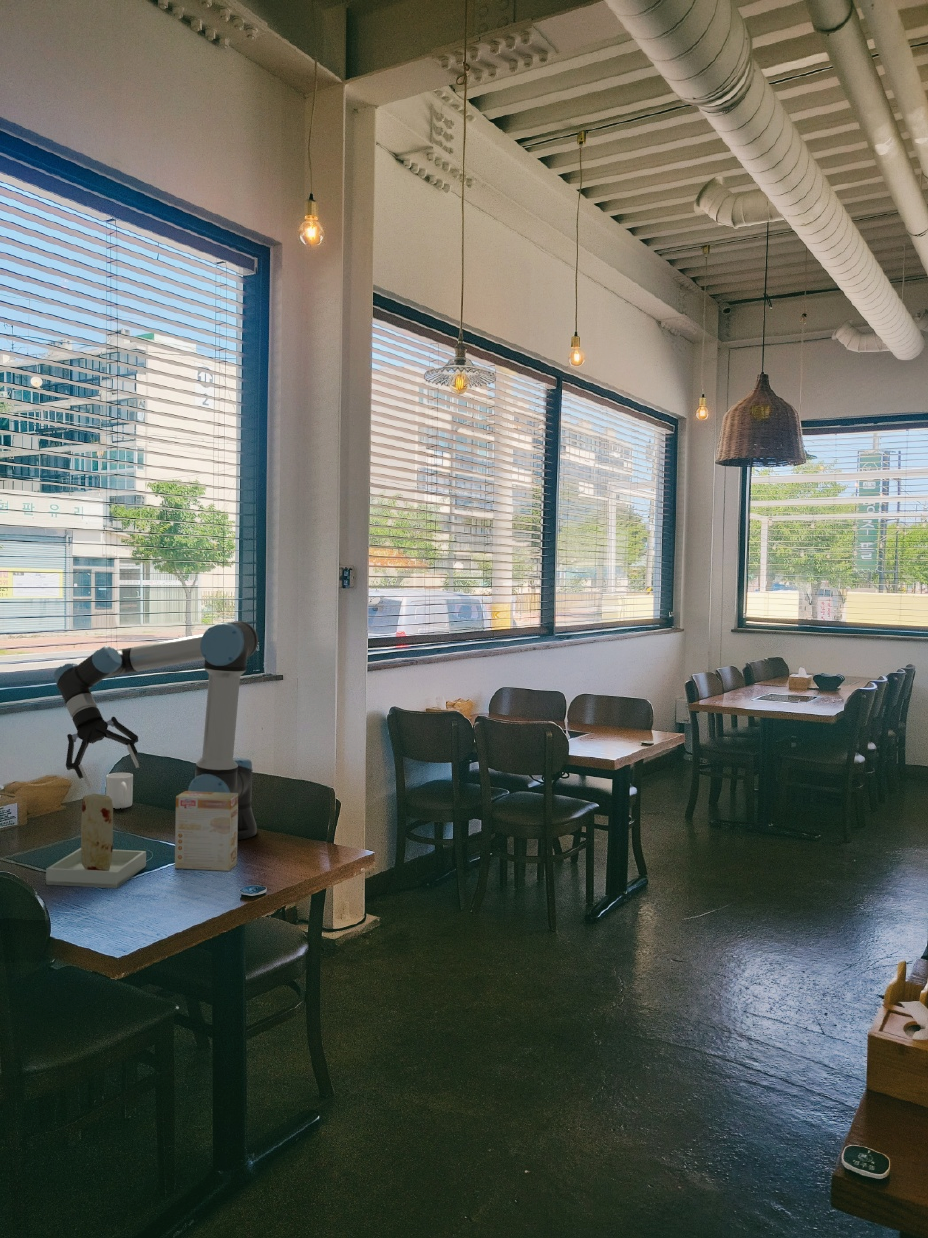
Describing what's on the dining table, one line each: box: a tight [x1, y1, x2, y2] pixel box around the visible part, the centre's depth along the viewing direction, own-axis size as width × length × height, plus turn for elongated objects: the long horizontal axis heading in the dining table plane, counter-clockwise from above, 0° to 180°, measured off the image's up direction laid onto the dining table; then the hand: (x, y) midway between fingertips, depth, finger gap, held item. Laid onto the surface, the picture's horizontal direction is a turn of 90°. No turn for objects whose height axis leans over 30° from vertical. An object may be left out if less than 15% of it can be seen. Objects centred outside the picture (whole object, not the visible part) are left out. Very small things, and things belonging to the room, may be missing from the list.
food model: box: [80, 793, 114, 871], centre depth 240 cm, size 10×7×20 cm
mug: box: [105, 772, 134, 810], centre depth 309 cm, size 12×8×10 cm
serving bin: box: [45, 847, 147, 889], centre depth 240 cm, size 18×18×4 cm
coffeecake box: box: [174, 790, 238, 872], centre depth 250 cm, size 15×7×20 cm, turn 86°
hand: (113, 776), depth 261 cm, fingers open, 13 cm apart
